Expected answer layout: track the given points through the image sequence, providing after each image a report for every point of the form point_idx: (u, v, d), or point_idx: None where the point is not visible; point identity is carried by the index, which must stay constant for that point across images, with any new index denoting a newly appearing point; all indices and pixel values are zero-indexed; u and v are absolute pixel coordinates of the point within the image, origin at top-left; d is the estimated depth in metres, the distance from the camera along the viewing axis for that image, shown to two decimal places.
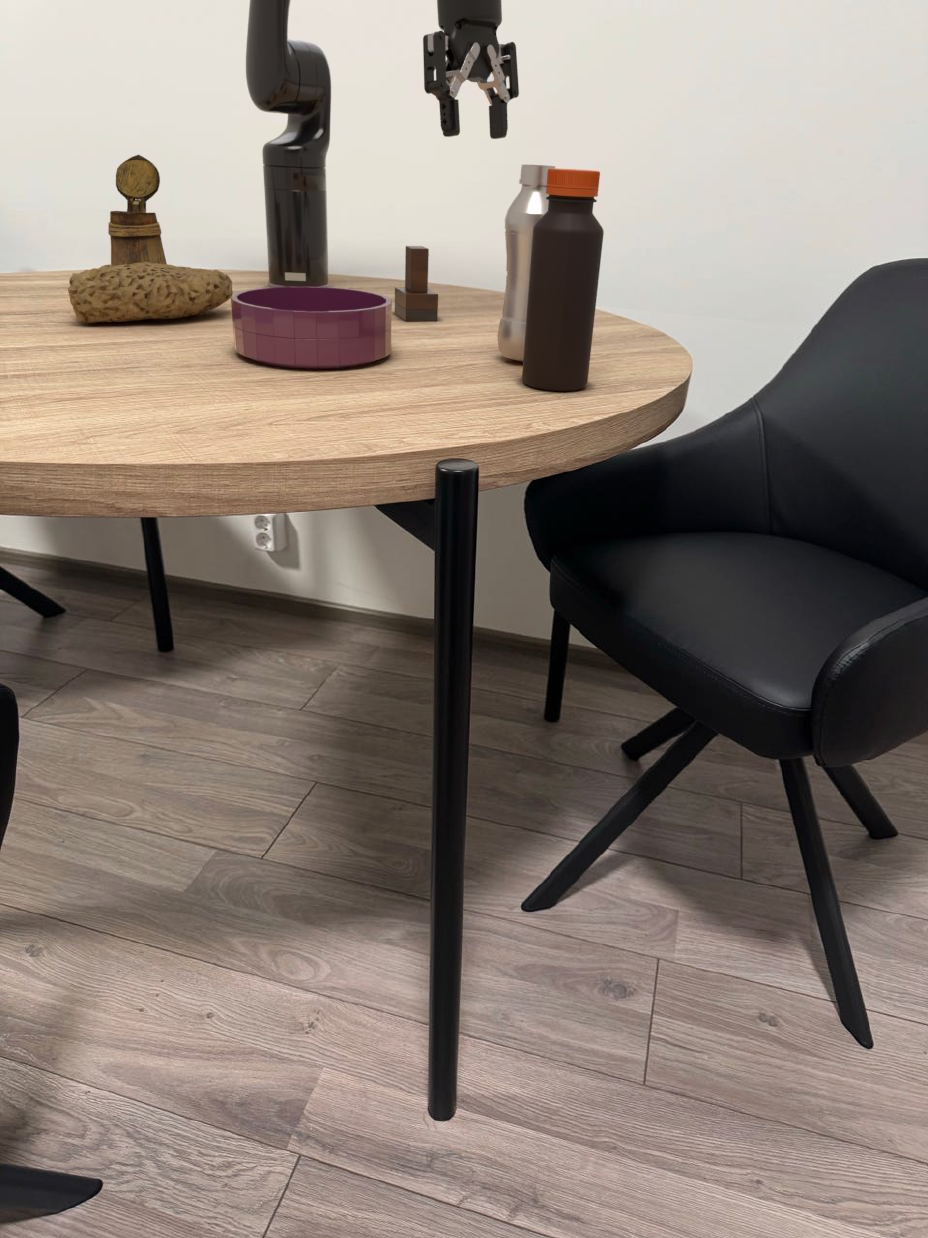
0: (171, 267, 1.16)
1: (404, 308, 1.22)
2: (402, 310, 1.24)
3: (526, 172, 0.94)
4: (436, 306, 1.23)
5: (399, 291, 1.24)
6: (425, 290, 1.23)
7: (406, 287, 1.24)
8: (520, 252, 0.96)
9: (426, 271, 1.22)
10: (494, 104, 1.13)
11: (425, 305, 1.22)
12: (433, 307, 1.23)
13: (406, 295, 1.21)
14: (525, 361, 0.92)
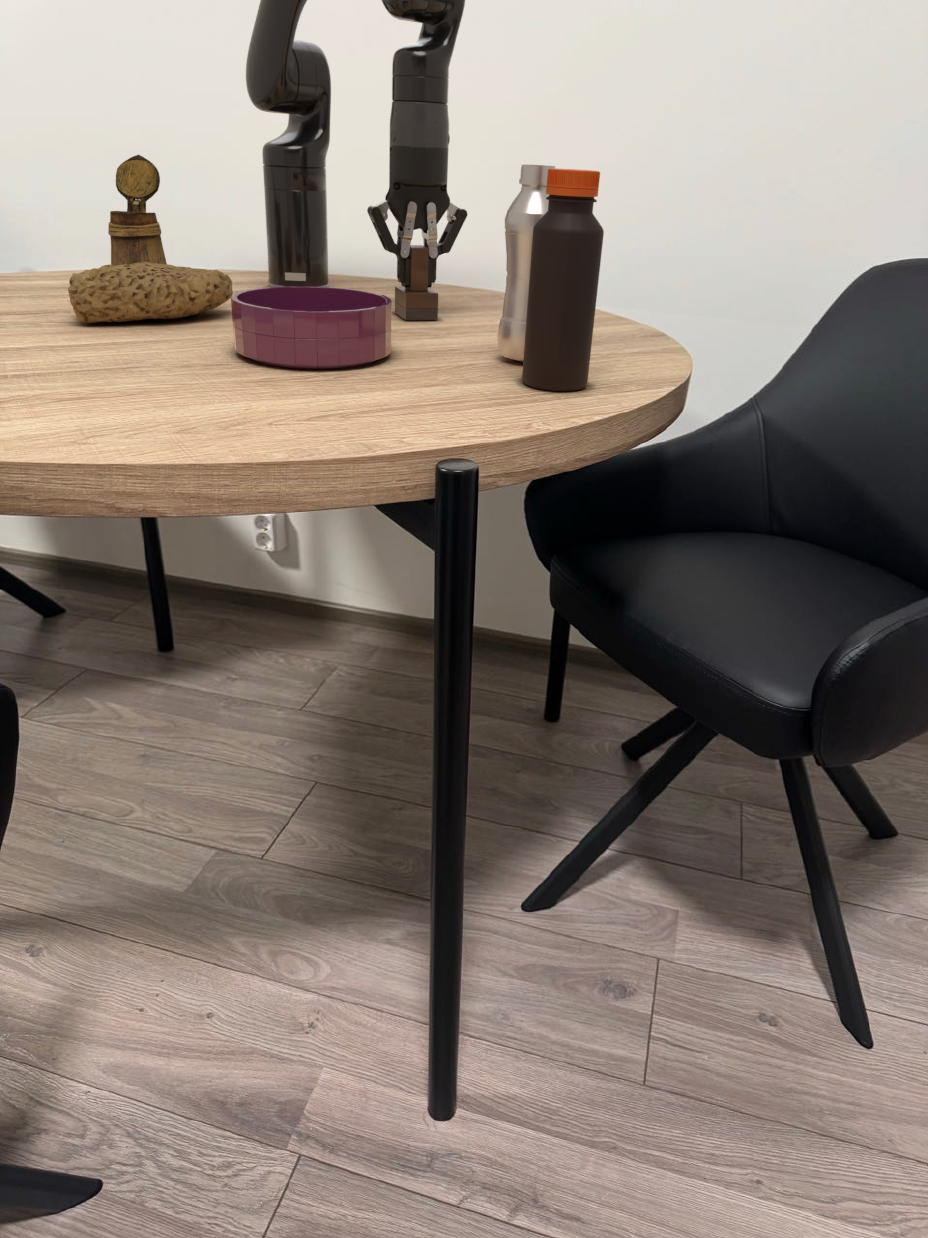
0: (171, 267, 1.16)
1: (404, 307, 1.22)
2: (402, 309, 1.24)
3: (526, 172, 0.94)
4: (436, 305, 1.23)
5: (399, 290, 1.24)
6: (425, 289, 1.23)
7: None
8: (520, 252, 0.96)
9: (426, 270, 1.22)
10: None
11: (425, 304, 1.22)
12: (433, 306, 1.23)
13: (407, 294, 1.21)
14: (525, 361, 0.92)
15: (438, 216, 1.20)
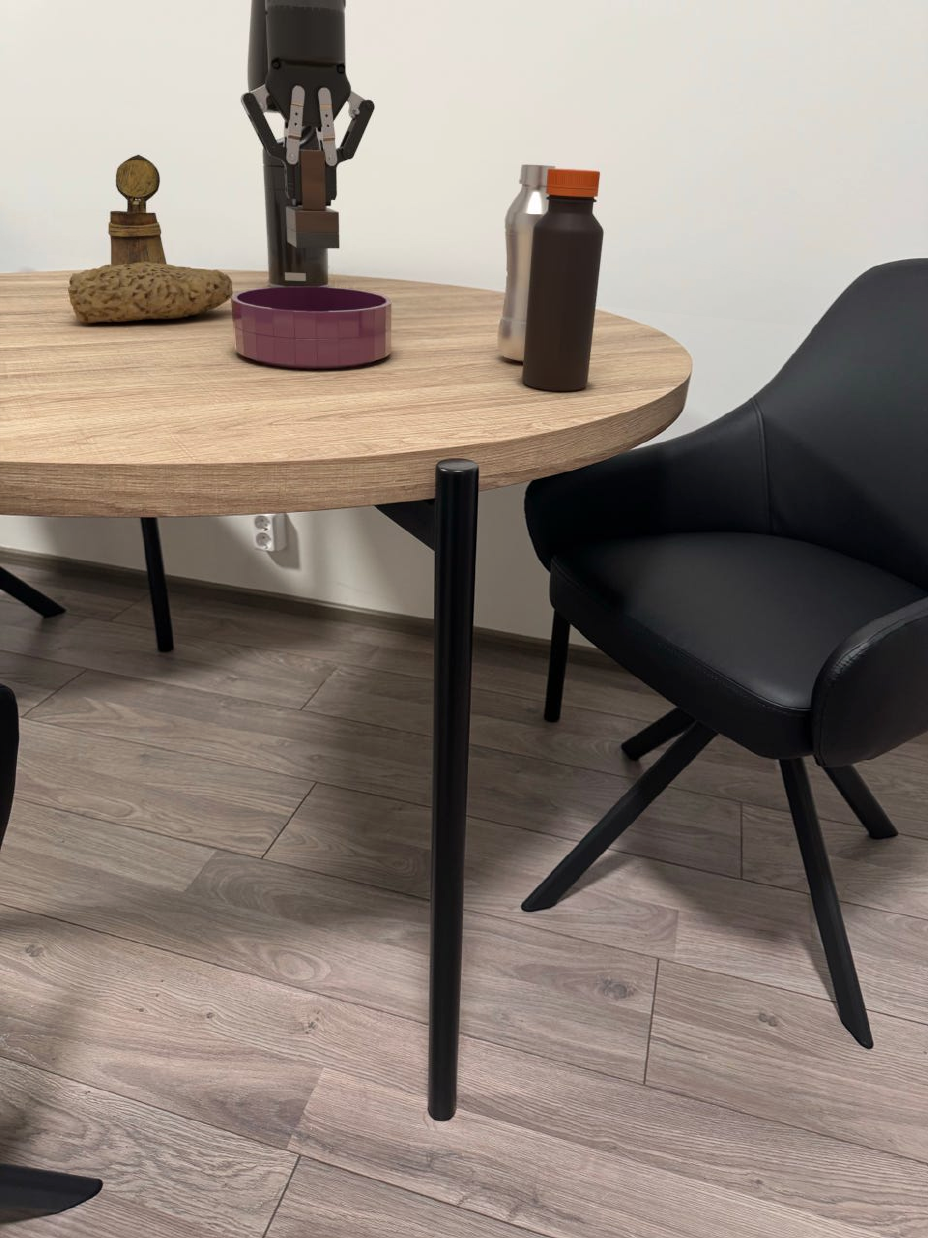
0: (171, 267, 1.16)
1: (294, 231, 0.93)
2: (293, 235, 0.95)
3: (526, 172, 0.94)
4: (337, 228, 0.94)
5: (289, 210, 0.95)
6: (322, 208, 0.94)
7: (299, 205, 0.95)
8: (520, 252, 0.96)
9: (322, 182, 0.93)
10: None
11: (321, 226, 0.93)
12: (333, 230, 0.94)
13: (296, 213, 0.92)
14: (525, 361, 0.92)
15: (335, 108, 0.91)
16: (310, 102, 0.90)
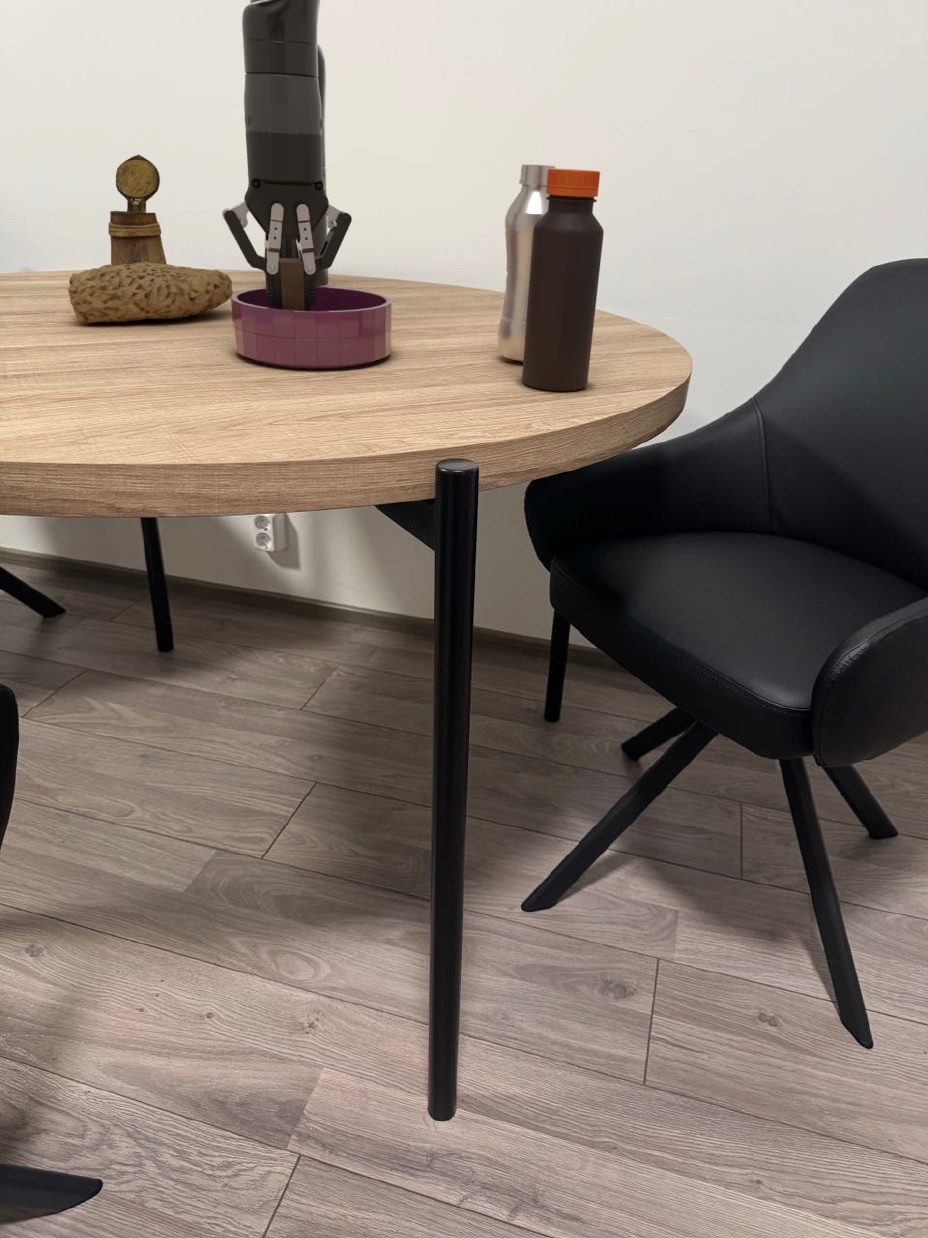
0: (171, 267, 1.16)
1: None
2: None
3: (526, 172, 0.94)
4: None
5: None
6: None
7: None
8: (520, 252, 0.96)
9: (301, 290, 0.96)
10: None
11: None
12: None
13: None
14: (525, 361, 0.92)
15: (314, 222, 0.94)
16: (289, 217, 0.93)
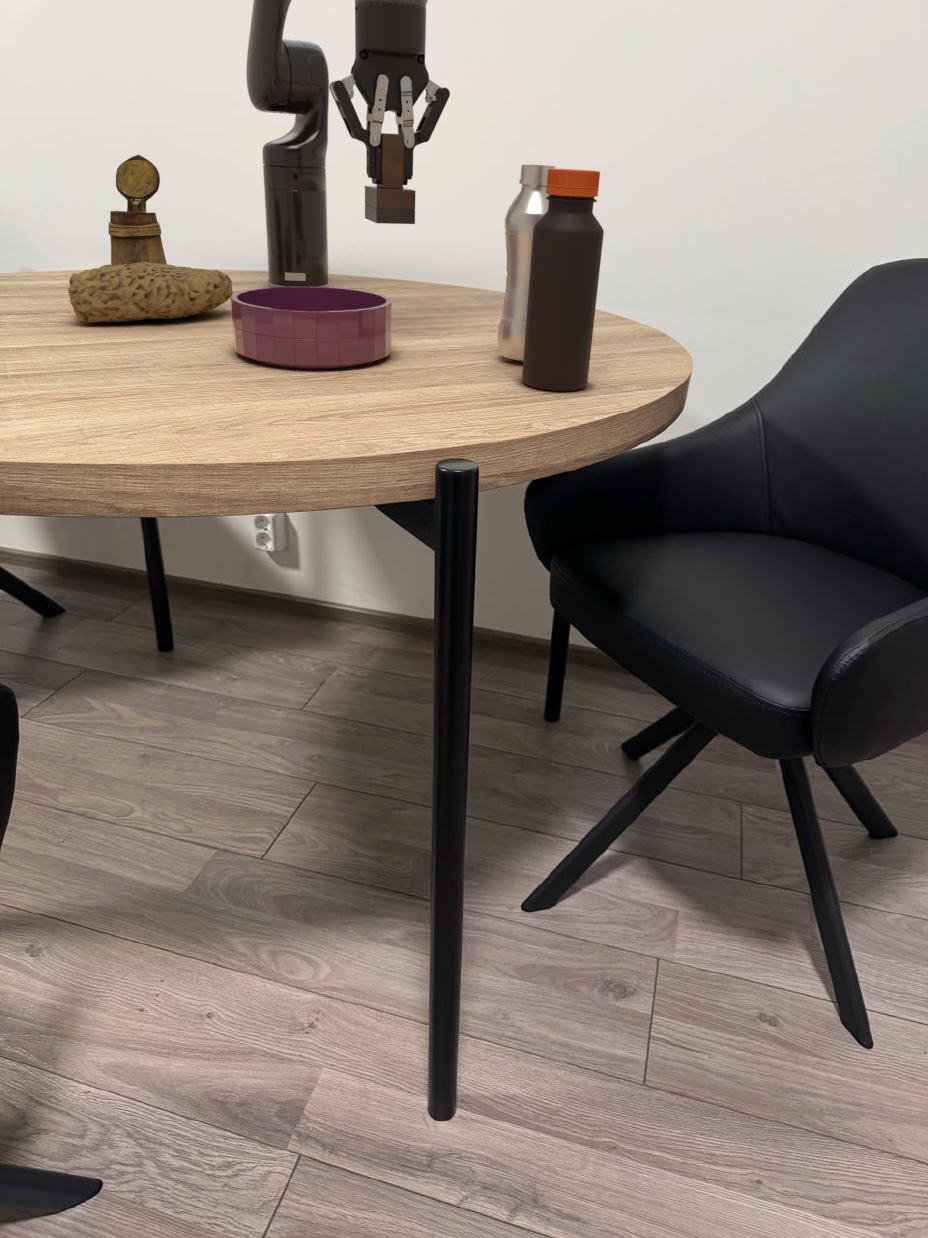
0: (171, 267, 1.16)
1: (375, 207, 1.02)
2: (372, 211, 1.04)
3: (526, 172, 0.94)
4: (413, 206, 1.03)
5: (369, 188, 1.04)
6: (400, 186, 1.03)
7: (378, 184, 1.04)
8: (520, 252, 0.96)
9: (401, 163, 1.02)
10: None
11: (399, 204, 1.02)
12: (409, 207, 1.03)
13: (377, 191, 1.01)
14: (525, 361, 0.92)
15: (415, 95, 1.00)
16: (392, 89, 0.99)
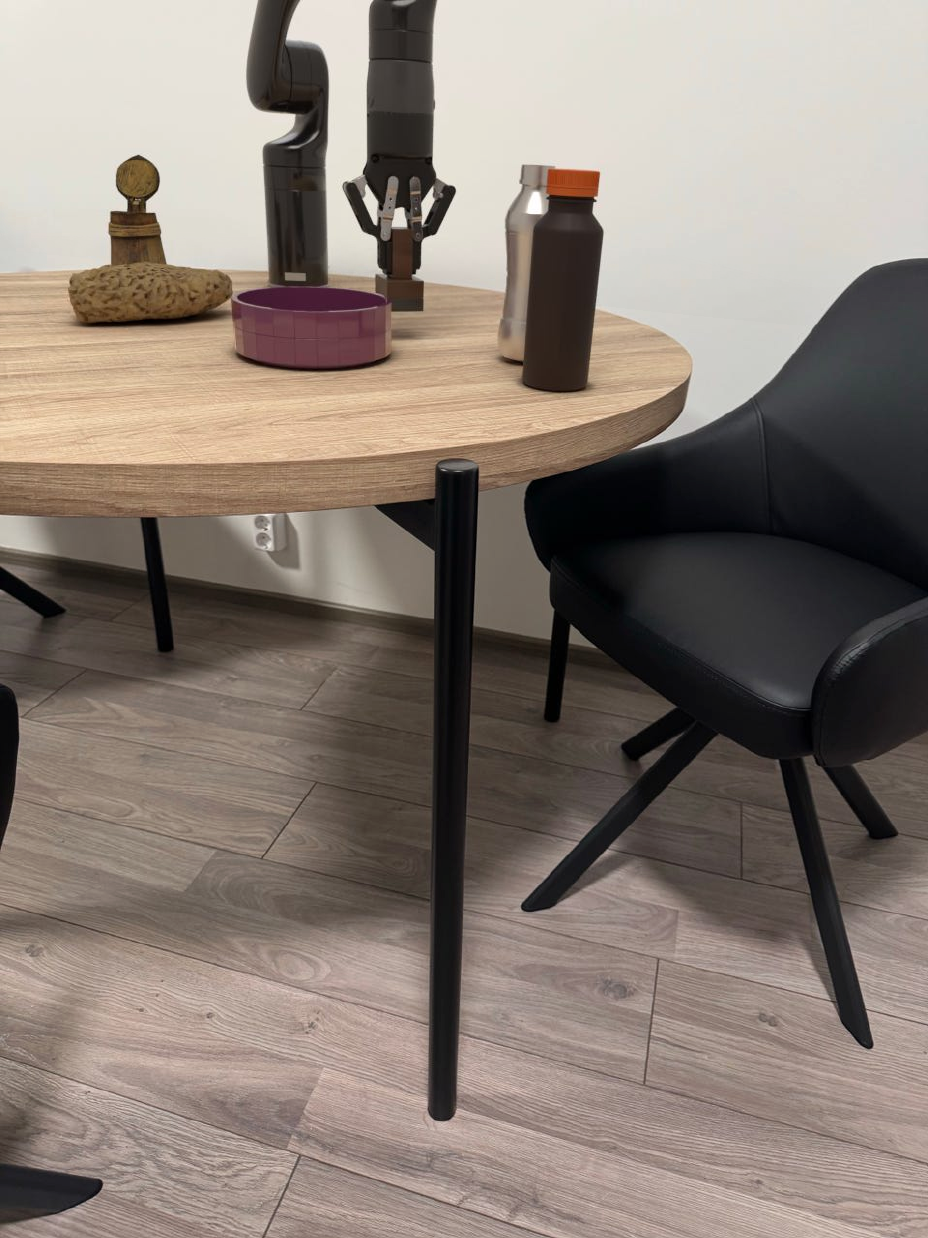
0: (171, 267, 1.16)
1: None
2: None
3: (526, 172, 0.94)
4: (422, 295, 1.09)
5: (380, 278, 1.09)
6: (409, 277, 1.09)
7: None
8: (520, 252, 0.96)
9: (410, 255, 1.07)
10: None
11: (409, 293, 1.08)
12: (418, 296, 1.08)
13: (388, 282, 1.07)
14: (525, 361, 0.92)
15: (423, 193, 1.05)
16: (402, 188, 1.04)
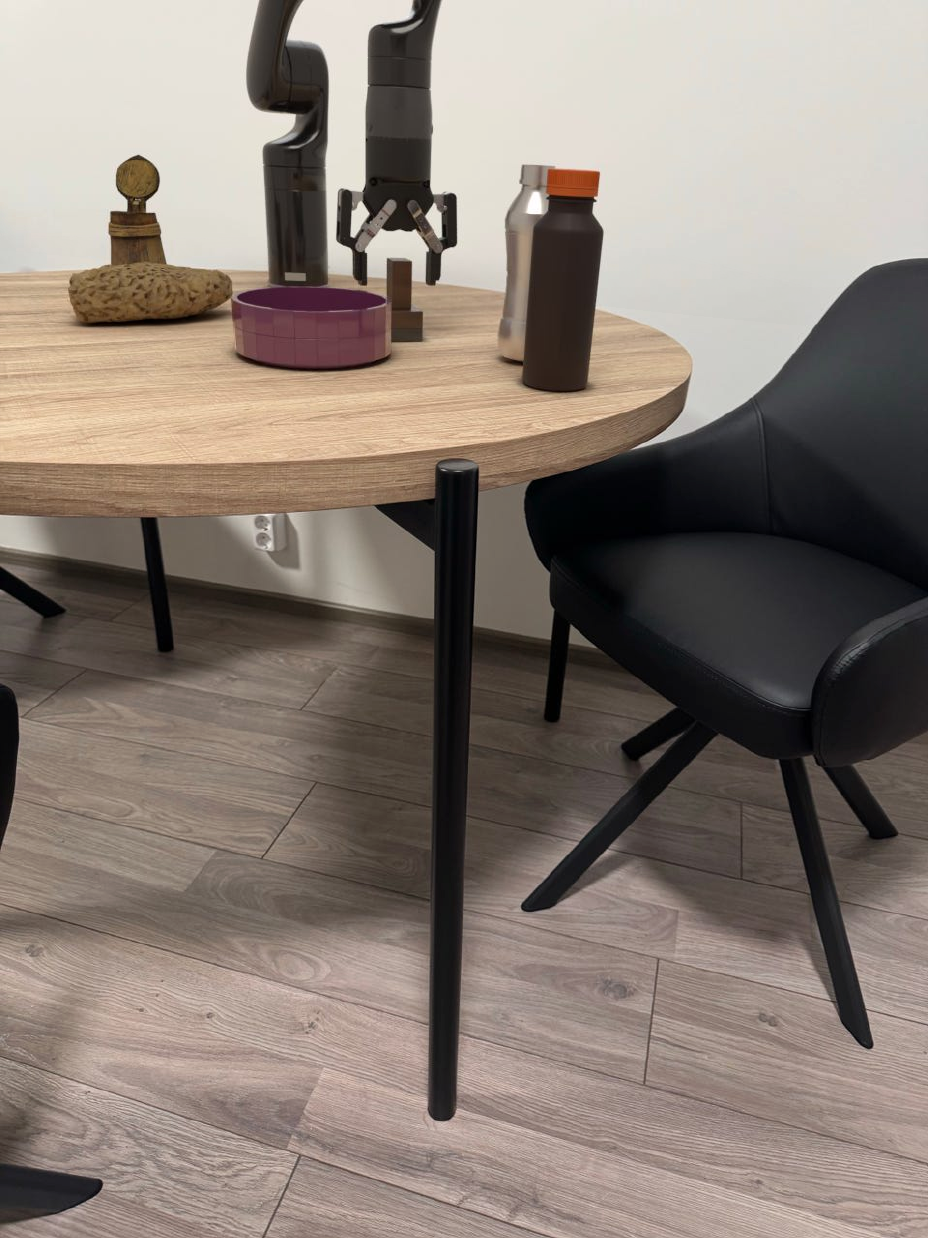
0: (171, 267, 1.16)
1: None
2: None
3: (526, 172, 0.94)
4: (421, 325, 1.10)
5: None
6: (408, 307, 1.10)
7: None
8: (520, 252, 0.96)
9: (409, 286, 1.09)
10: (429, 252, 1.10)
11: (408, 324, 1.10)
12: (417, 326, 1.10)
13: None
14: (525, 361, 0.92)
15: None
16: (400, 211, 1.06)
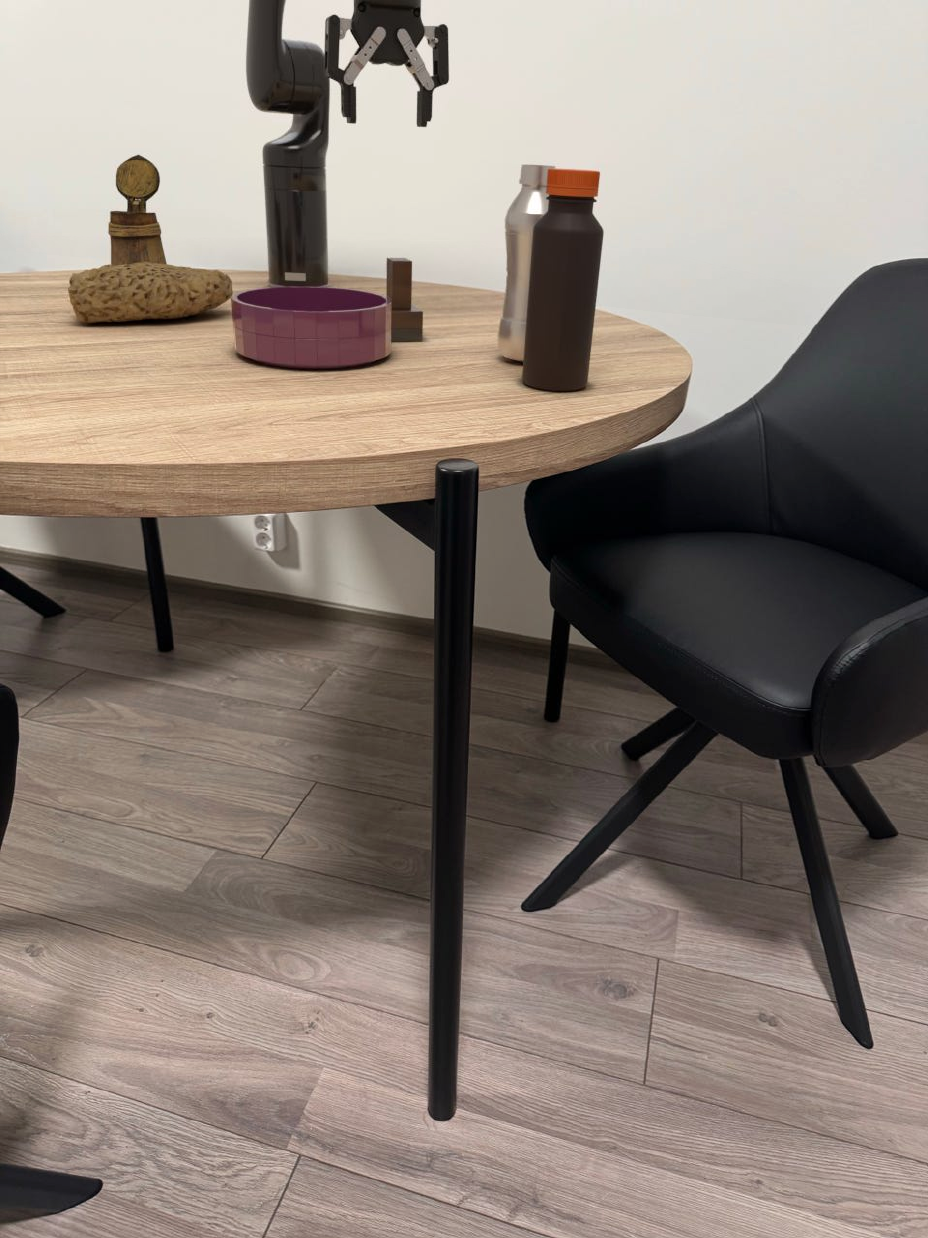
0: (171, 267, 1.16)
1: None
2: None
3: (526, 172, 0.94)
4: (421, 325, 1.10)
5: None
6: (408, 307, 1.10)
7: None
8: (520, 252, 0.96)
9: (409, 286, 1.09)
10: (420, 90, 1.07)
11: (408, 324, 1.10)
12: (417, 326, 1.10)
13: None
14: (525, 361, 0.92)
15: None
16: (389, 42, 1.02)
